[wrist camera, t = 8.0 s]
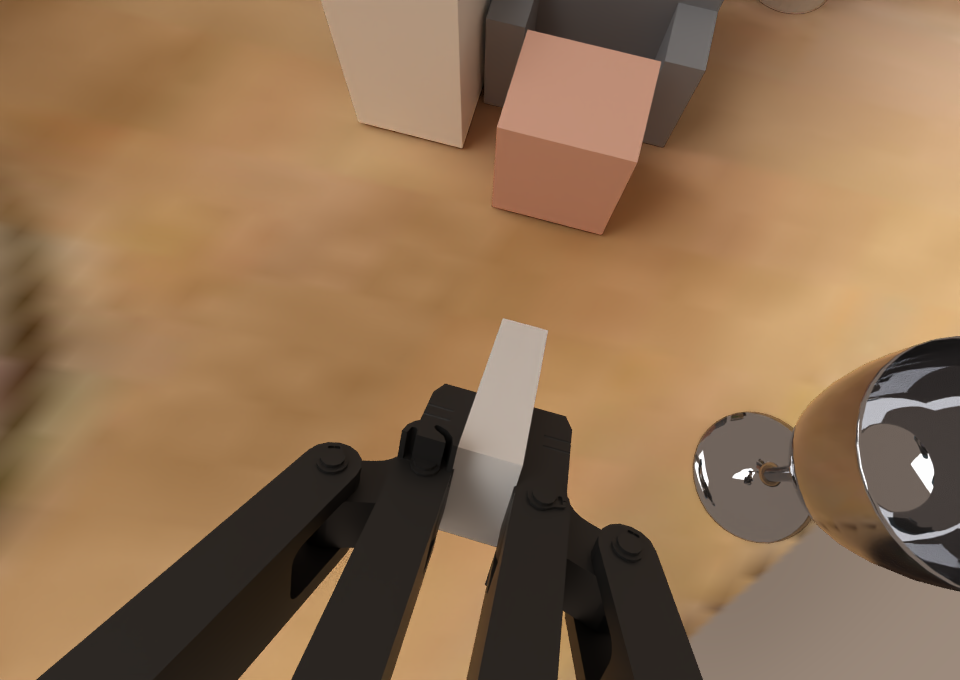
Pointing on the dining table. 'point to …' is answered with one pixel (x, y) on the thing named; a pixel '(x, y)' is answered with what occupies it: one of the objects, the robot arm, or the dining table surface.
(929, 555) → the wine glass
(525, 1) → the console
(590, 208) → the terracotta key
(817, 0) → the coffee cup
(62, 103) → the dining table surface
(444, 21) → the cream key
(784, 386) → the dining table surface
